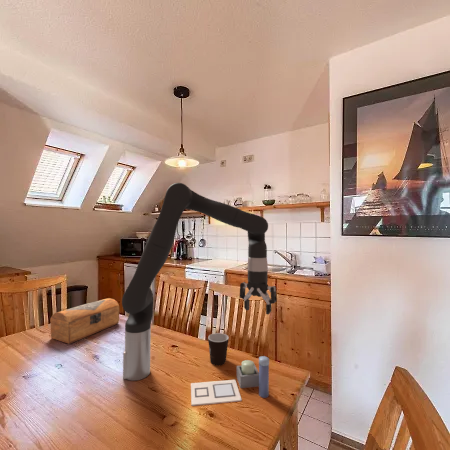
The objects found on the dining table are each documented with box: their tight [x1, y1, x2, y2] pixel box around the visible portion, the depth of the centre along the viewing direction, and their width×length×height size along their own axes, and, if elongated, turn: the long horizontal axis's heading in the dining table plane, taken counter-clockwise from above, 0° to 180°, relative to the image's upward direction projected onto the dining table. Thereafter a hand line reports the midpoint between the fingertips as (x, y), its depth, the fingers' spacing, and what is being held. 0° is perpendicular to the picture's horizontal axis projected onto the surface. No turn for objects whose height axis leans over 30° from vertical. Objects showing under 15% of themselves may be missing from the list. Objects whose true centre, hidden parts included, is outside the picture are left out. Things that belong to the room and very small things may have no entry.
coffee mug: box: [207, 332, 229, 367], centre depth 107 cm, size 12×9×10 cm
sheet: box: [190, 379, 242, 407], centre depth 86 cm, size 16×11×1 cm
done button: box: [241, 359, 255, 375], centre depth 92 cm, size 5×5×4 cm
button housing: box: [236, 363, 259, 389], centre depth 92 cm, size 7×7×4 cm
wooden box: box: [49, 297, 120, 345], centre depth 137 cm, size 30×16×14 cm, turn 153°
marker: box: [258, 355, 270, 399], centre depth 85 cm, size 3×3×12 cm
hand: (257, 311), depth 96 cm, fingers open, 8 cm apart
